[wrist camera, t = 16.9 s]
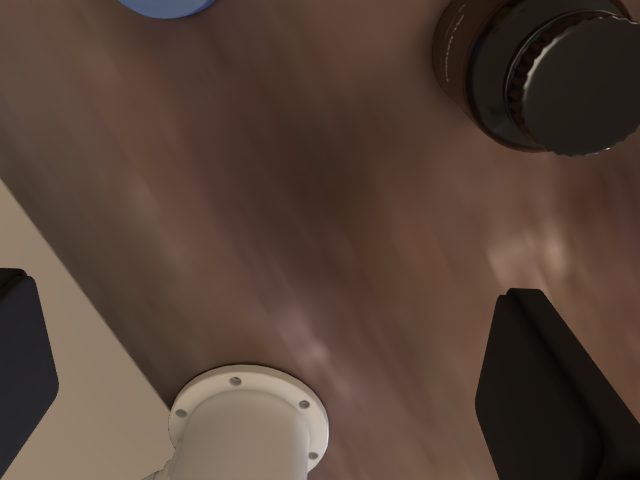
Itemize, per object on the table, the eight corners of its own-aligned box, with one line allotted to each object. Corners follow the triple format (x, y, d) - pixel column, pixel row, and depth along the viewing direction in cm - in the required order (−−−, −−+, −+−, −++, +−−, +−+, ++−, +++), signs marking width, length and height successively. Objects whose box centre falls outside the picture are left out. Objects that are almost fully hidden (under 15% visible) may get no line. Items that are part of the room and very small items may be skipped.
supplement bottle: (409, 19, 27) (460, 42, 17) (533, -50, 26) (678, -74, 15) (456, 131, 30) (526, 212, 19) (571, 74, 28) (717, 129, 18)
